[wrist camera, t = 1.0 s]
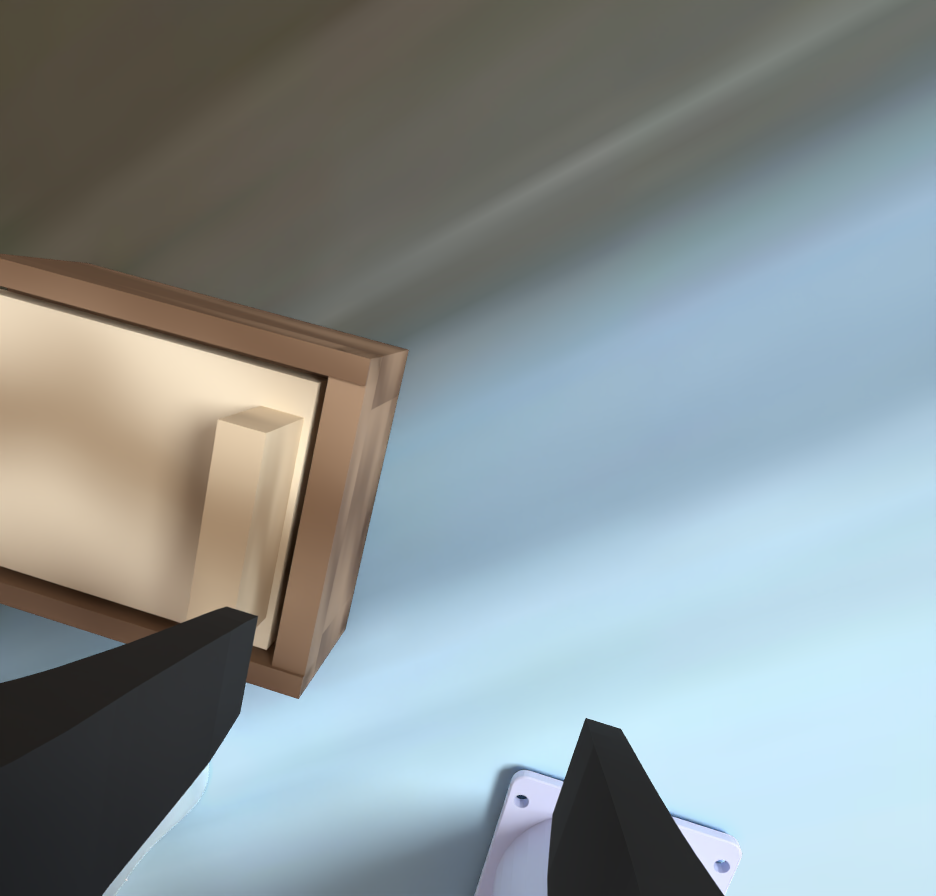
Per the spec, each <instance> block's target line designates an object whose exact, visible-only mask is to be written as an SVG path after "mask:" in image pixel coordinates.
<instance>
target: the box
mask: <svg viewBox="0 0 936 896" xmlns="http://www.w3.org/2000/svg"><path fill="white" fill-rule="evenodd" d="M0 286H3V287H7V291H10V292H13V293H17V294H21V295H24V296H28V297H32V298H35V299H39V300H42V301H46V302H50V303H53V304H57V305H60V306H64V307H68V308H71V309H75V310H79V311H82V312H86V313H89V314H93V315H97V316H100V317H104V318H107V319H111V320H115V321H118V322H122V323H126V324H129V325H133V326H136V327H140V328H144V329H147V330H151V331H155V332H158V333H162V334H165V335H169V336H173V337H176V338H180V339H183V340H187V341H191V342H194V343H198V344H202V345H205V346H209V347H212V348H216V349H220V350H223V351H227V352H230V353H234V354H238V355H241V356H245V357H249V358H252V359H256V360H259V361H263V362H267V363H270V364H274V365H277V366H281V367H285V368H288V369H292V370H296V371H299V372H303V373H306V374H310V375H314V376H317V377H321V378H325V379H328V383H327V388H326V393H325V398H324V403H323V408H322V413H321V418H320V423H319V428H318V433H317V438H316V443H315V449H314V454H313V459H312V464H311V469H310V474H309V479H308V484H307V489H306V494H305V499H304V504H303V509H302V514H301V519H300V524H299V529H298V535H297V540H296V545H295V550H294V555H293V560H292V565H291V570H290V575H289V580H288V585H287V590H286V595H285V600H284V605H283V610H282V615H281V621H280V626H279V631H278V636H277V639H276V640H275V641H274V642H273V643H272V644H271V646H270V647H269V648H268V649H267V650H265V649H262V648H259V647H255V646H253V647H252V652H251V657H250V663H249V668H248V673H247V679H246V682H247V683H250V684H253V685H256V686H260V687H263V688H266V689H269V690H272V691H275V692H278V693H281V694H284V695H288V696H291V697H294V698H297V699H299V697H300V696H301V695H302V693H303V692H304V690H305V689H306V687H307V686H308V684H309V683H310V681H311V680H312V678H313V677H314V675H315V674H316V672H317V671H318V669H319V668H320V666H321V665H322V663H323V662H324V660H325V659H326V657H327V656H328V654H329V653H330V651H331V650H332V648H333V647H334V645H335V644H336V642H337V641H338V639H339V638H340V636H341V635H342V633H343V632H344V630H345V629H346V624H347V620H348V616H349V611H350V607H351V602H352V598H353V594H354V589H355V585H356V580H357V576H358V571H359V567H360V563H361V558H362V554H363V549H364V545H365V541H366V536H367V532H368V527H369V523H370V519H371V514H372V510H373V505H374V501H375V496H376V492H377V488H378V483H379V479H380V474H381V470H382V466H383V461H384V457H385V452H386V448H387V444H388V439H389V435H390V430H391V426H392V421H393V417H394V413H395V408H396V404H397V399H398V395H399V391H400V386H401V382H402V377H403V373H404V369H405V364H406V360H407V355H408V351H409V350H407V349H404V348H400V347H396V346H392V345H389V344H385V343H381V342H378V341H374V340H370V339H367V338H363V337H359V336H355V335H352V334H348V333H344V332H341V331H337V330H333V329H329V328H326V327H322V326H318V325H315V324H311V323H307V322H303V321H300V320H296V319H292V318H289V317H285V316H281V315H277V314H274V313H270V312H266V311H263V310H259V309H255V308H252V307H248V306H244V305H240V304H237V303H233V302H229V301H226V300H222V299H218V298H214V297H211V296H207V295H203V294H200V293H196V292H192V291H188V290H185V289H181V288H177V287H174V286H170V285H166V284H162V283H159V282H155V281H151V280H148V279H144V278H140V277H136V276H133V275H129V274H125V273H122V272H118V271H114V270H111V269H107V268H103V267H99V266H96V265H92V264H88V263H80V262H71V261H61V260H52V259H43V258H33V257H24V256H14V255H5V254H0ZM0 603H1V604H4V605H7V606H10V607H13V608H16V609H20V610H23V611H26V612H29V613H32V614H35V615H38V616H41V617H44V618H48V619H51V620H54V621H57V622H60V623H63V624H66V625H69V626H73V627H76V628H79V629H82V630H85V631H88V632H91V633H94V634H97V635H101V636H104V637H107V638H110V639H113V640H116V641H119V642H122V643H126V644H128V643H130V642H133V641H135V640H138V639H141V638H143V637H146V636H149V635H151V634H154V633H157V632H159V631H162V630H164V629H167V628H170V627H172V626H175V625H177V624H180V623H179V622H176V621H173V620H170V619H167V618H164V617H160V616H157V615H154V614H151V613H148V612H145V611H141V610H138V609H135V608H132V607H129V606H126V605H122V604H119V603H116V602H113V601H110V600H107V599H103V598H100V597H97V596H94V595H91V594H88V593H84V592H81V591H78V590H75V589H72V588H69V587H65V586H62V585H59V584H56V583H53V582H49V581H46V580H43V579H40V578H37V577H34V576H30V575H27V574H24V573H21V572H18V571H15V570H11V569H8V568H5V567H2V566H0Z"/></svg>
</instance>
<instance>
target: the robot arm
mask: <svg viewBox="0 0 936 896" xmlns="http://www.w3.org/2000/svg"><path fill="white" fill-rule="evenodd" d="M257 620H258V616H256V615H253V614H250V613H246V612H243V611H240V610H237V609H234V608H230V607H227V606H226V607H223V608H220V609H217V610H214V611H211V612H208V613H206V614H203V615H200V616H198V617H195V618H193V619H190V620H187V621H185V622H182V623H180V624H177V625H175V626H172V627H170V628H167V629H164V630H162V631H159V632H157V633H154V634H151V635H149V636H146V637H143V638H141V639H138V640H135V641H133V642H130V643H128V644H125V645H122V646H119V647H117V648H114V649H111V650H108V651H105V652H102V653H99V654H96V655H93V656H90V657H87V658H84V659H81V660H78V661H75V662H72V663H69V664H66V665H63V666H60V667H57V668H54V669H50V670H47V671H44V672H40V673H37V674H33V675H30V676H26V677H23V678H19V679H15V680H11V681H7V682H4V683H0V896H102V895H103V894H104V892H105V891H106V890H107V888H108V887H109V886H110V884H111V883H112V882H113V881H114V880H115V878H116V877H117V876H118V875H119V873H120V872H121V871H122V870H123V868H124V867H125V866H126V865H127V864H128V862H129V861H130V860H131V859H132V857H133V856H134V855H135V854H136V853H137V851H138V850H139V849H140V848H141V846H142V845H143V844H144V843H145V842H146V840H147V839H148V838H149V837H150V835H151V834H152V833H153V832H154V830H155V829H156V828H157V827H158V826H159V824H160V823H161V822H162V821H163V819H164V818H165V817H166V816H167V815H168V813H169V812H170V811H171V810H172V808H173V807H174V806H175V805H176V804H177V802H178V801H179V800H180V799H181V797H182V796H183V795H184V794H185V792H186V791H187V790H188V789H189V787H190V786H191V785H192V784H193V782H194V781H195V780H196V779H197V777H198V776H199V775H200V774H201V772H202V771H203V770H204V769H205V767H206V766H207V765H208V763H209V762H210V760H211V759H212V757H213V756H214V754H215V752H216V751H217V749H218V748H219V746H220V745H221V743H222V742H223V740H224V738H225V737H226V735H227V734H228V732H229V730H230V729H231V727H232V725H233V724H234V722H235V721H236V719H237V717H238V716H239V714H240V711H241V705H242V700H243V695H244V689H245V684H246V679H247V673H248V668H249V663H250V657H251V652H252V647H253V641H254V636H255V631H256V625H257ZM517 795H524V796H526V797H527V798H526V799H519V798H517V797H516V796H517ZM741 857H742V852H741V849H740V846H739V843H738V841H737V840H736V839H735V837H733V836H731V835H729V834H726V833H722V832H719V831H716V830H713V829H710V828H707V827H704V826H701V825H697V824H694V823H691V822H688V821H685V820H682V819H679V818H676V817H673V816H671V814H670V813H669V811H668V809H667V808H666V806H665V805H664V803H663V801H662V799H661V798H660V796H659V794H658V793H657V791H656V789H655V788H654V786H653V784H652V782H651V781H650V779H649V777H648V775H647V774H646V772H645V770H644V769H643V767H642V765H641V763H640V761H639V760H638V758H637V756H636V754H635V753H634V751H633V749H632V747H631V746H630V744H629V742H628V740H627V739H626V737H625V735H624V733H623V732H622V730H621V729H619V728H616V727H613V726H610V725H606V724H603V723H600V722H597V721H594V720H590V719H587V718H586V719H585V721H584V724H583V727H582V730H581V733H580V736H579V739H578V742H577V745H576V748H575V750H574V753H573V756H572V759H571V762H570V765H569V768H568V771H567V774H566V777H565V779H564V782H563V781H560V780H557V779H554V778H551V777H548V776H545V775H541V774H538V773H535V772H532V771H528V770H521V771H518V772H516V773H515V774H514V775H513V777H512V779H511V782H510V785H509V789H508V792H507V795H506V798H505V801H504V804H503V807H502V810H501V814H500V817H499V820H498V823H497V826H496V829H495V832H494V835H493V839H492V842H491V845H490V848H489V851H488V854H487V857H486V860H485V864H484V867H483V870H482V873H481V876H480V879H479V882H478V885H477V889H476V892H475V895H474V896H725V894H726V892H727V889H728V887H729V885H730V883H731V880H732V878H733V876H734V874H735V871H736V869H737V867H738V865H739V862H740V860H741ZM718 860H725V862H722V863H716V861H718Z"/></svg>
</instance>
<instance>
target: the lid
mask: <svg viewBox="0 0 936 896" xmlns="http://www.w3.org/2000/svg"><path fill="white" fill-rule="evenodd" d="M327 383H328V379H325V378H321V377H317V376H314V375H310V374H306V373H303V372H299V371H296V370H292V369H288V368H285V367H281V366H277V365H274V364H270V363H267V362H263V361H259V360H256V359H252V358H249V357H245V356H241V355H238V354H234V353H230V352H227V351H223V350H220V349H216V348H212V347H209V346H205V345H202V344H198V343H194V342H191V341H187V340H183V339H180V338H176V337H173V336H169V335H165V334H162V333H158V332H155V331H151V330H147V329H144V328H140V327H136V326H133V325H129V324H126V323H122V322H118V321H115V320H111V319H107V318H104V317H100V316H97V315H93V314H89V313H86V312H82V311H79V310H75V309H71V308H68V307H64V306H60V305H57V304H53V303H50V302H46V301H42V300H39V299H35V298H32V297H28V296H24V295H21V294H17V293H13V292H10V291H6V290H3V289H0V566H2V567H5V568H8V569H11V570H15V571H18V572H21V573H24V574H27V575H30V576H34V577H37V578H40V579H43V580H46V581H49V582H53V583H56V584H59V585H62V586H65V587H69V588H72V589H75V590H78V591H81V592H84V593H88V594H91V595H94V596H97V597H100V598H103V599H107V600H110V601H113V602H116V603H119V604H122V605H126V606H129V607H132V608H135V609H138V610H141V611H145V612H148V613H151V614H154V615H157V616H160V617H164V618H167V619H170V620H173V621H176V622H179V623H182V622H185V621H187V620H190V619H193V618H195V617H198V616H200V615H203V614H206V613H208V612H211V611H214V610H217V609H220V608H223V607H226V606H227V607H230V608H234V609H237V610H240V611H243V612H246V613H250V614H253V615H256V616H258V620H257V625H256V631H255V636H254V641H253V646H255V647H259V648H262V649H265V650H267V649H268V648H269V647H270V646H271V644H272V643H273V642H274V641H275V640H276V639H277V636H278V631H279V626H280V621H281V615H282V610H283V605H284V600H285V595H286V590H287V585H288V580H289V575H290V570H291V565H292V560H293V555H294V550H295V545H296V540H297V535H298V529H299V524H300V519H301V514H302V509H303V504H304V499H305V494H306V489H307V484H308V479H309V474H310V469H311V464H312V459H313V454H314V449H315V443H316V438H317V433H318V428H319V423H320V418H321V413H322V408H323V403H324V398H325V393H326V388H327Z"/></svg>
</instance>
